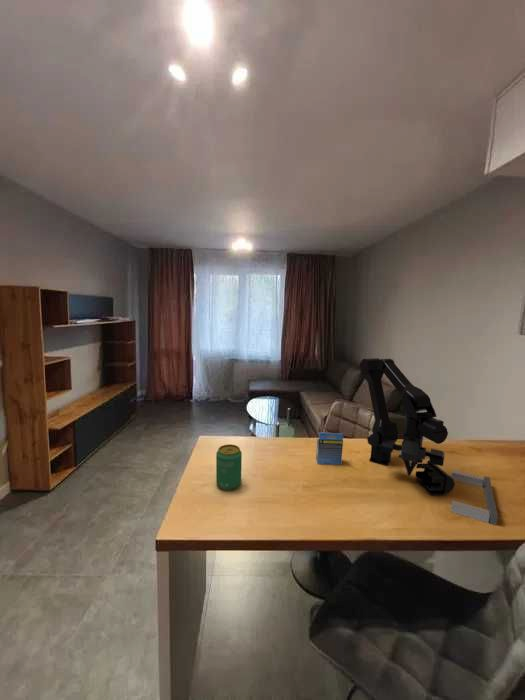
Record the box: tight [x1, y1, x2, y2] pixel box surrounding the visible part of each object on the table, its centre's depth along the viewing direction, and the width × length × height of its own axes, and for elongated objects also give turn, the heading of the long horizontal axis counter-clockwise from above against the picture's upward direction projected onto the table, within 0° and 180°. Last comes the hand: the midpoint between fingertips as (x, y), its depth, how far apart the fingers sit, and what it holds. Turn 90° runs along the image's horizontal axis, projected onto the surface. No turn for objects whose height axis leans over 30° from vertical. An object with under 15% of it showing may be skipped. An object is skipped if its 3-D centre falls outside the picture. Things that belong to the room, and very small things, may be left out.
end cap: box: [415, 460, 456, 496], centre depth 106 cm, size 10×7×7 cm
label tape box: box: [315, 432, 344, 465], centre depth 121 cm, size 9×4×12 cm, turn 89°
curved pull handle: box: [450, 469, 499, 526], centre depth 101 cm, size 11×22×3 cm, turn 150°
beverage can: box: [215, 444, 243, 491], centre depth 105 cm, size 8×8×12 cm
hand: (409, 475), depth 109 cm, fingers closed
